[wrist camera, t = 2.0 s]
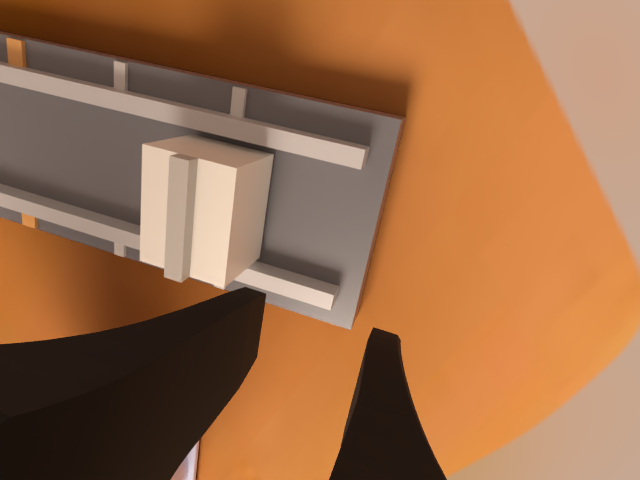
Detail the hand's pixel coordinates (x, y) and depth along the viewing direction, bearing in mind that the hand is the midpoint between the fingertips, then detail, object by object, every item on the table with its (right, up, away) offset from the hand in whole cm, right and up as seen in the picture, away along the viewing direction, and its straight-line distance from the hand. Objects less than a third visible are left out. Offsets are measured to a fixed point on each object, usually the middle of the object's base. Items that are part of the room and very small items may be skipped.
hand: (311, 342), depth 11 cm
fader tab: (-4, +5, +9) cm, 11 cm away
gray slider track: (-9, +7, +12) cm, 17 cm away
